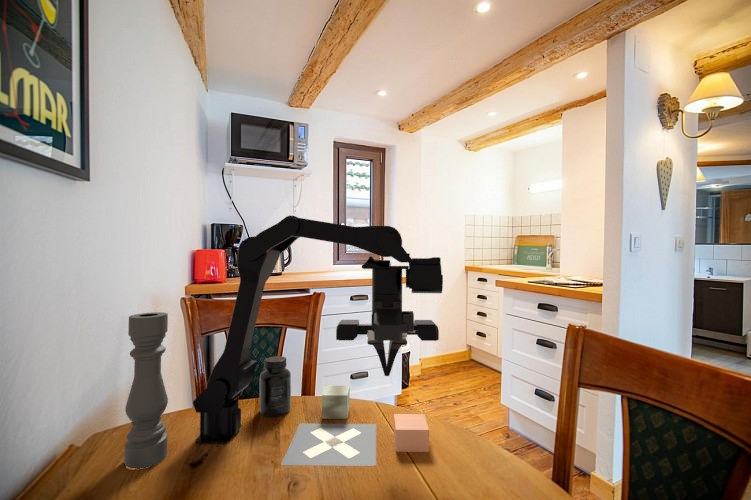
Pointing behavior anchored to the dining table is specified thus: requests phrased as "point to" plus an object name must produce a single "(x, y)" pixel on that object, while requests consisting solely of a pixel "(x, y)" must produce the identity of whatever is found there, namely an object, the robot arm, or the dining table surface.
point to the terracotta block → (411, 433)
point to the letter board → (333, 445)
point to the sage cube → (335, 402)
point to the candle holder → (146, 392)
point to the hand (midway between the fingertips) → (386, 375)
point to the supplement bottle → (275, 388)
